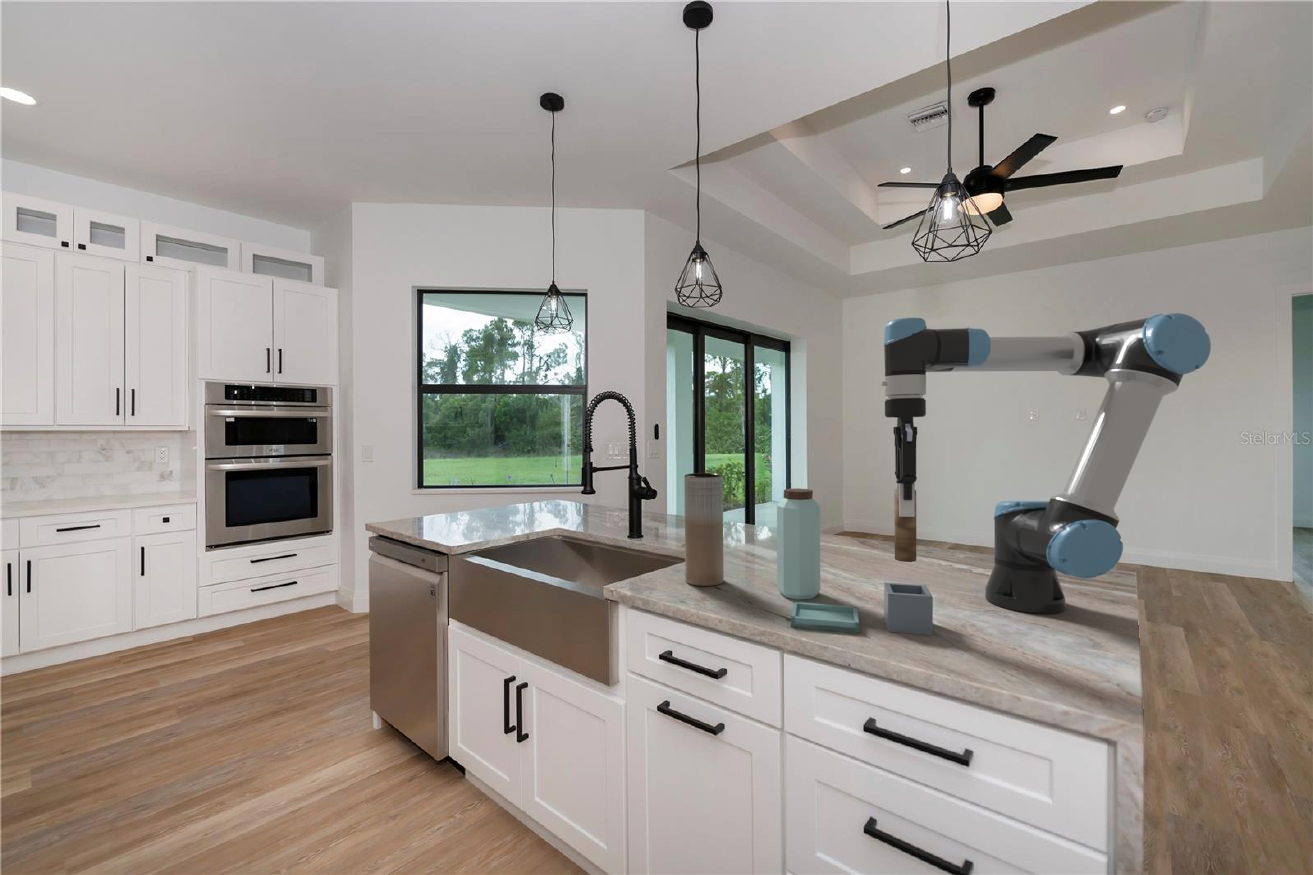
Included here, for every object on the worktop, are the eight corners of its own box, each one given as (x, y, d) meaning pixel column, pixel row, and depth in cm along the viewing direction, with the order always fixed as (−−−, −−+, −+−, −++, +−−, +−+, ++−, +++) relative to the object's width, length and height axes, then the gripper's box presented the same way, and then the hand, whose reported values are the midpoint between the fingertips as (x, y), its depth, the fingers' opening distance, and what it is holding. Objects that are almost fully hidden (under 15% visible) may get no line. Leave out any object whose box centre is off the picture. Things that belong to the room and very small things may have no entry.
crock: (925, 621, 118) (925, 585, 117) (932, 635, 110) (932, 596, 110) (884, 617, 120) (884, 582, 120) (888, 631, 112) (888, 593, 112)
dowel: (914, 557, 116) (914, 489, 116) (917, 562, 112) (917, 491, 112) (893, 556, 117) (893, 488, 117) (895, 561, 113) (895, 491, 113)
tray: (856, 616, 121) (856, 606, 121) (859, 633, 111) (859, 623, 111) (793, 610, 125) (793, 601, 125) (790, 627, 115) (790, 617, 115)
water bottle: (822, 601, 131) (821, 493, 130) (777, 599, 133) (776, 492, 132) (818, 589, 140) (818, 487, 140) (777, 587, 142) (776, 487, 142)
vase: (682, 576, 153) (681, 473, 152) (719, 575, 154) (718, 472, 153) (688, 587, 143) (687, 477, 142) (727, 586, 144) (726, 476, 143)
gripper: (880, 399, 123) (881, 507, 124) (889, 396, 107) (889, 521, 107) (918, 398, 121) (919, 508, 121) (933, 395, 104) (933, 522, 105)
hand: (905, 514), depth 114 cm, fingers closed on dowel, 4 cm apart
